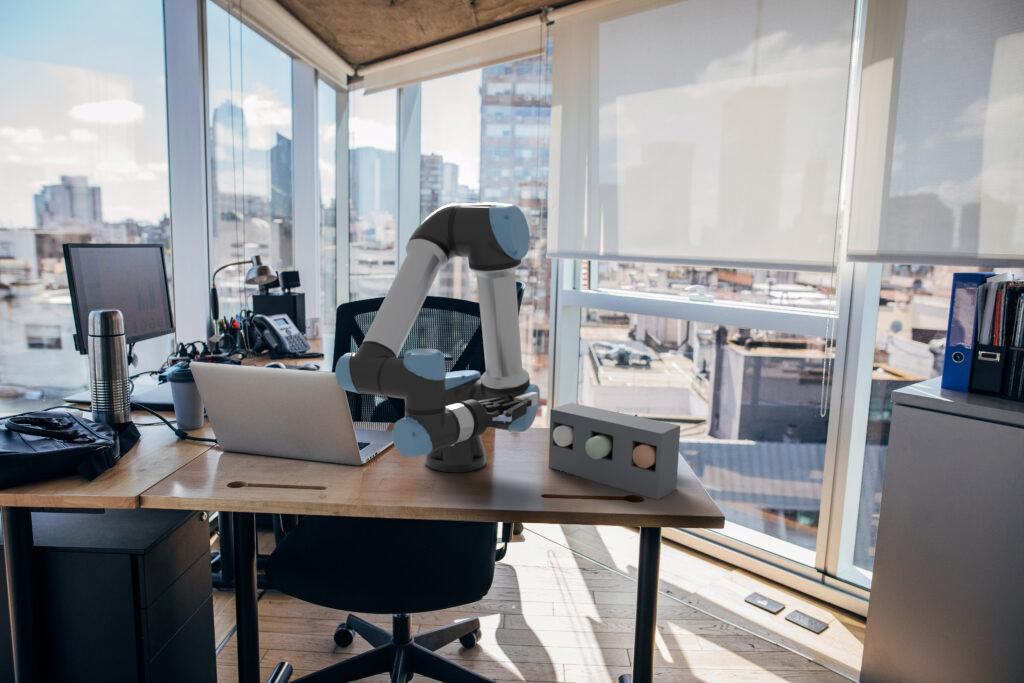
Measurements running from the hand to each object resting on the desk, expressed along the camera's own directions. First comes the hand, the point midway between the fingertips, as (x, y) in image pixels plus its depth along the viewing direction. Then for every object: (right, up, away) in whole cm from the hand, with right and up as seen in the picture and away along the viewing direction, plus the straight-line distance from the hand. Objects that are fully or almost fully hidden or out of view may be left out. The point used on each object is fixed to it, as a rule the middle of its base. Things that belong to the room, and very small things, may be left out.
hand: (535, 398), depth 147 cm
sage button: (+15, -14, +4) cm, 21 cm away
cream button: (+8, -13, +12) cm, 19 cm away
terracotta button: (+25, -15, -2) cm, 29 cm away
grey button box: (+18, -20, +9) cm, 28 cm away
